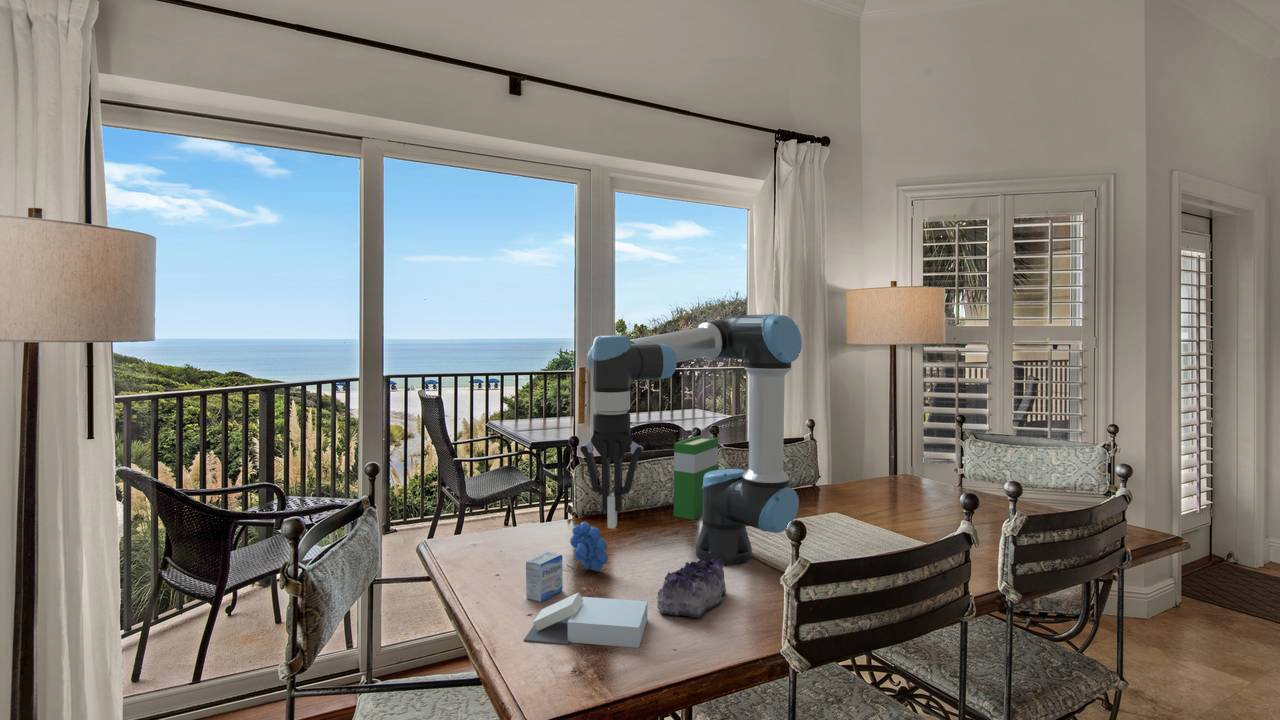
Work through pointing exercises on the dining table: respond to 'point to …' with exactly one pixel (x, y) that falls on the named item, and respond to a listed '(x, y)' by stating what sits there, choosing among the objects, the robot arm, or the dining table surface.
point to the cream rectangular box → (558, 611)
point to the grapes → (589, 546)
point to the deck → (608, 622)
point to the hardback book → (692, 474)
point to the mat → (550, 633)
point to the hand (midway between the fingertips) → (612, 526)
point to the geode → (692, 589)
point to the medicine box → (544, 576)
